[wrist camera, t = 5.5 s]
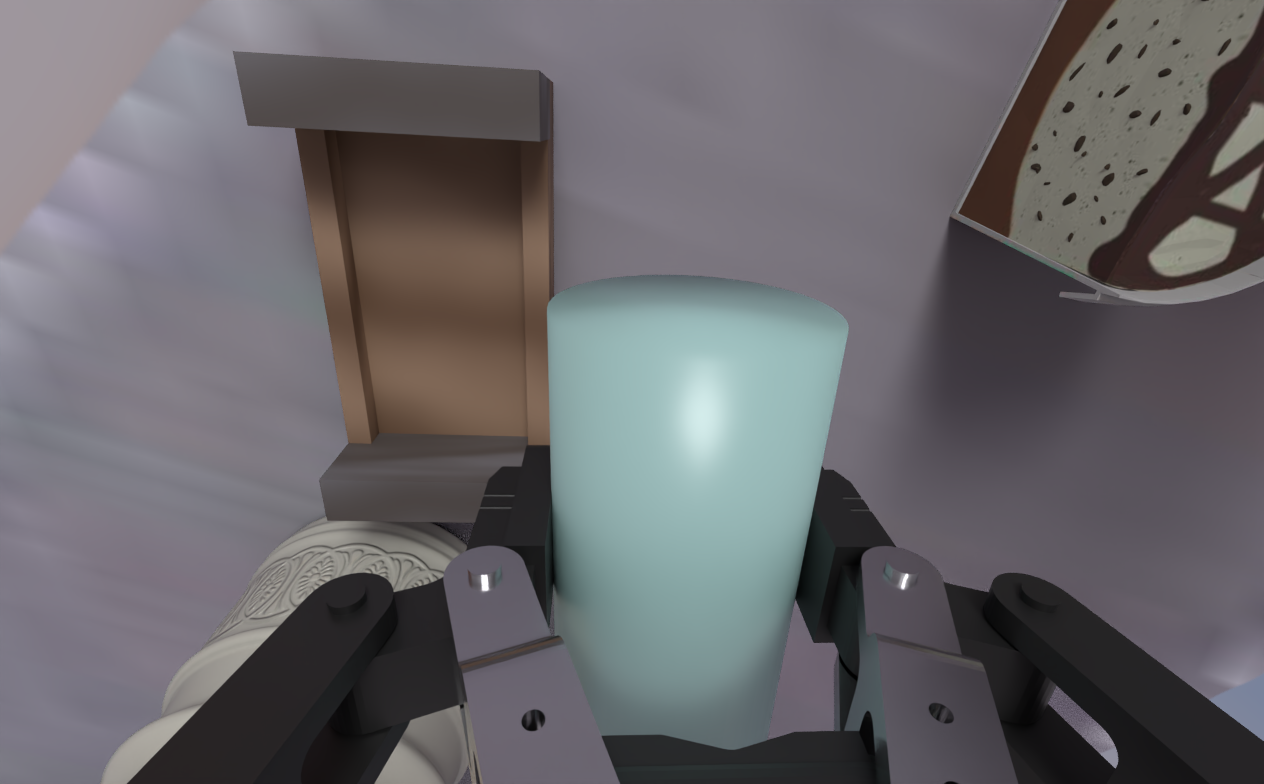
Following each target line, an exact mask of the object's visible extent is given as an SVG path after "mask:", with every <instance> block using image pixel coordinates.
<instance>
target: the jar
mask: <svg viewBox="0 0 1264 784" xmlns="http://www.w3.org/2000/svg"><path fill="white" fill-rule="evenodd" d="M466 549H467V545H466V544H465V543H464V542H462V541H461V540H460V539H458V538H457V537H456V536H454V535H453V534H451V533H450V532H448V531H446V530H445V529H443V528H441V527H439V526H437V525H435V524H433V523H430V522H384V521H327V517H323V518H321V519H318V520H316V521H314V522H312V523H310V524H308V525H306V526H305V527H303V528H302V529H300V530H299V531H297V532H296V533H295V534H294V535H292V536H291V537H290V538H289V539H287V540H286V541H284V542H283V543H282V544H281V545H279V546H278V547H277V548H276V549H275V550H274V551H273V552H272V553H271V554H270V555H269V556H268V557H267V558H266V560H265V561H264V562H263V564H262V565H261V566H260V567H259V568H258V569H257V571H256V572H255V574H254V575H253V577H252V578H251V580H250V582H249V584H248V587H247V589H246V591H245V593H244V594H243V595H242V597H241V598H240V599H239V601H238V602H237V603H236V604H235V606H234V607H233V608H232V610H231V611H230V612H229V614H228V615H227V616H226V617H225V619H224V620H223V621H222V623H221V624H220V625H219V627H218V628H217V629H216V630H215V632H214V633H213V634H212V636H211V637H210V638H209V640H208V641H207V642H206V643H205V645H204V646H203V647H202V649H201V650H200V651H199V652H197V653H196V654H195V655H194V656H192V657H191V658H190V659H189V660H188V661H187V662H186V663H184V664H183V665H182V667H181V668H180V669H179V670H178V671H177V672H176V674H175V675H174V677H173V679H172V680H171V682H170V684H169V686H168V688H167V690H166V693H165V696H164V699H163V704H162V714H161V718H159V719H157V720H155V721H153V722H151V723H150V724H148V725H146V726H145V727H143V728H141V729H140V730H138V731H137V732H135V733H134V734H133V735H131V736H130V737H129V738H128V739H127V740H126V741H125V742H124V743H123V744H122V745H121V746H120V747H119V748H118V749H117V750H116V751H115V753H114V754H113V755H112V757H111V758H110V760H109V761H108V763H107V766H106V768H105V770H104V773H103V776H102V779H101V783H100V784H127V783H128V782H129V781H130V780H131V779H132V778H133V777H134V776H135V775H136V774H137V773H138V772H139V770H140V769H141V768H142V767H143V766H144V765H145V764H146V763H147V762H148V761H149V760H150V759H151V758H152V757H153V756H154V755H155V754H156V753H157V752H158V751H159V750H160V749H161V748H162V747H163V746H164V745H165V744H166V743H167V742H168V740H169V739H170V738H171V737H172V736H173V735H174V734H175V733H176V732H177V731H178V730H179V729H180V728H181V727H182V726H183V725H184V724H185V723H186V722H187V721H188V720H189V719H190V718H191V717H192V716H193V715H194V714H195V713H196V712H197V710H198V709H199V708H200V707H201V706H202V705H203V704H204V703H205V702H206V701H207V700H208V699H209V698H210V697H211V696H212V695H213V694H214V693H215V692H216V691H217V690H218V689H219V688H220V687H221V686H222V685H223V684H224V683H225V682H226V680H227V679H228V678H229V677H230V676H231V675H232V674H233V673H234V672H235V671H236V670H237V669H238V668H239V667H240V666H241V665H242V664H243V663H244V662H245V661H246V660H247V659H248V658H249V657H250V656H251V655H252V654H253V653H254V652H255V651H256V649H257V648H258V647H259V646H260V645H261V644H262V643H263V642H264V641H265V640H266V639H267V638H268V637H269V636H270V635H271V634H272V633H273V632H274V631H275V630H276V629H277V628H278V627H279V626H280V625H281V624H282V623H283V622H284V621H285V619H286V618H287V617H288V616H289V615H290V614H291V613H292V612H293V611H294V610H295V609H296V608H297V607H298V606H299V605H300V604H301V603H302V602H303V601H304V600H305V599H306V598H307V597H308V596H309V595H310V594H311V593H312V592H313V591H314V590H315V589H317V588H318V587H320V586H321V585H323V584H325V583H326V582H328V581H330V580H333V579H335V578H338V577H341V576H344V575H348V574H353V573H373V574H377V575H380V576H382V577H384V578H386V579H387V580H388V581H389V582H390V583H391V585H392V587H393V591H394V592H396V591H400V590H405V589H409V588H413V587H417V586H421V585H425V584H428V583H431V582H434V581H436V580H438V579H440V578H442V577H443V576H444V571H445V569H446V567H447V566H448V564H449V563H450V562H451V561H452V560H453V559H454V558H455V557H457V556H458V555H460V554H461V553H463V552H465V551H466ZM468 765H469V763H468V758H467V752H466V746H465V740H464V734H463V728H462V722H461V716H460V710H459V705H457V706H454V707H451V708H448V709H445V710H441V711H438V712H435V713H432V714H429V715H425V716H422V717H419V718H416V719H413V720H411V721H410V723H409V725H408V727H407V729H406V731H405V732H404V734H403V736H402V737H401V739H400V741H399V743H398V744H397V746H396V748H395V749H394V751H393V753H392V754H391V756H390V758H389V760H388V761H387V763H386V765H385V766H384V768H383V770H382V772H381V773H380V775H379V777H378V778H377V780H376V782H375V784H458V783H459V782H460V780H461V779H462V777H463V776H464V774H465V772H466V770H467V768H468Z"/></svg>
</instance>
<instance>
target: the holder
mask: <svg viewBox="0 0 1264 784" xmlns="http://www.w3.org/2000/svg"><path fill="white" fill-rule="evenodd" d="M233 54H234V59H235V64H236V69H237V74H238V79H239V84H240V89H241V94H242V99H243V104H244V109H245V114H246V119H247V124H248V126H266V127H285V128H295V132H296V138H297V144H298V149H299V155H300V161H301V167H302V173H303V179H304V185H305V190H306V196H307V202H308V208H309V214H310V220H311V226H312V231H313V237H314V243H315V249H316V255H317V261H318V267H319V272H320V278H321V284H322V290H323V296H324V302H325V308H326V313H327V319H328V325H329V331H330V337H331V343H332V349H333V354H334V360H335V366H336V372H337V378H338V384H339V390H340V395H341V401H342V407H343V413H344V419H345V425H346V430H347V436H348V442H349V443H348V445H347V446H346V447H345V448H344V450H343V451H342V452H341V453H340V455H339V456H338V457H337V458H336V460H335V461H334V462H333V463H332V465H331V466H330V467H329V468H328V470H327V471H326V472H325V473H324V475H323V476H322V477H321V478H320V480H319V482H320V487H321V492H322V497H323V502H324V507H325V512H326V517H327V521H384V522H454V523H475V521H476V517H477V514H478V511H479V509H480V505H481V502H482V499H483V497H484V492H485V489H486V486H487V483H488V480H489V478H490V477H491V476H493V475H494V474H495V473H496V472H497V471H498V470H499V469H500V468H501V467H502V466H522V462H523V458H524V453H525V449H526V446H527V445H550V419H549V376H548V333H547V306H548V303H549V301H550V300H551V299H552V298H553V297H554V199H553V82H552V81H551V80H549V79H548V78H547V77H546V76H545V75H544V74H542V73H541V72H540V71H539V70H523V69H507V68H491V67H475V66H459V65H443V64H427V63H411V62H395V61H379V60H363V59H347V58H331V57H315V56H299V55H283V54H267V53H251V52H235V51H233Z"/></svg>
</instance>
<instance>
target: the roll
mask: <svg viewBox="0 0 1264 784" xmlns="http://www.w3.org/2000/svg"><path fill="white" fill-rule="evenodd" d="M848 328H849V326H848V323H847V321H846V319H845V318H844V317H843V316H842V315H841V314H840V313H839V312H837V311H836V310H835V309H833V308H831V307H830V306H828V305H826V304H824V303H822V302H820V301H818V300H815V299H813V298H810V297H808V296H805V295H802V294H799V293H796V292H792V291H789V290H785V289H781V288H777V287H773V286H768V285H763V284H758V283H753V282H747V281H740V280H733V279H725V278H716V277H704V276H688V275H640V276H626V277H617V278H609V279H602V280H596V281H592V282H587V283H583V284H580V285H576V286H573V287H571V288H568V289H566V290H564V291H562V292H560V293H558V294H557V295H555V296H554V297H553V298H552V299H551V300H550V301H549V303H548V306H547V333H548V376H549V419H550V462H551V492H552V528H553V575H554V585H553V590H554V633H555V636H557V635H559V636H561V638H562V639H563V641H564V643H565V645H566V647H567V650H568V652H569V655H570V657H571V660H572V662H573V665H574V668H575V670H576V673H577V675H578V678H579V680H580V683H581V685H582V688H583V691H584V693H585V696H586V698H587V701H588V703H589V706H590V708H591V711H592V714H593V716H594V719H595V721H596V724H597V726H598V729H599V731H600V734H601V736H606V735H658V734H662V735H666V736H670V737H675V738H679V739H683V740H688V741H692V742H697V743H701V744H705V745H710V746H714V747H718V748H723V749H728V750H736V749H740V748H743V747H747V746H750V745H753V744H757V743H760V742H763V741H767V738H768V733H769V728H770V723H771V718H772V713H773V708H774V703H775V698H776V693H777V687H778V682H779V677H780V672H781V667H782V662H783V657H784V652H785V647H786V642H787V637H788V632H789V627H790V622H791V617H792V612H793V607H794V602H795V597H796V592H797V587H798V582H799V577H800V572H801V567H802V562H803V557H804V552H805V547H806V542H807V537H808V532H809V527H810V522H811V517H812V512H813V507H814V502H815V497H816V492H817V487H818V482H819V477H820V472H821V467H822V462H823V457H824V451H825V446H826V441H827V436H828V431H829V426H830V421H831V416H832V411H833V406H834V401H835V396H836V391H837V386H838V381H839V376H840V371H841V366H842V361H843V356H844V351H845V346H846V341H847V336H848Z"/></svg>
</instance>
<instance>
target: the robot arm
mask: <svg viewBox="0 0 1264 784" xmlns="http://www.w3.org/2000/svg"><path fill="white" fill-rule="evenodd" d="M553 585H554V575H553V528H552V492H551V462H550V445H527V446H526V449H525V453H524V458H523V462H522V466H502V467H501V468H500V469H499V470H498V471H497V472H496V473H495V474H494V475H493V476H491V477H490V478H489V480H488V483H487V486H486V489H485V492H484V497H483V499H482V502H481V505H480V509H479V511H478V514H477V517H476V521H475V524H474V527H473V530H472V533H471V536H470V539H469V542H468V546H467V549H466V551H465V552H463V553H461V554H460V555H458V556H457V557H455V558H454V559H453V560H452V561H451V562H450V563H449V564H448V566H447V567H446V569H445V571H444V576H443V577H442V578H440V579H438V580H436V581H434V582H431V583H428V584H425V585H421V586H417V587H413V588H409V589H405V590H400V591H396V592H394V591H393V587H392V585H391V583H390V582H389V581H388V580H387V579H386V578H384V577H382V576H380V575H377V574H373V573H353V574H348V575H344V576H341V577H338V578H335V579H333V580H330V581H328V582H326V583H325V584H323V585H321V586H320V587H318V588H317V589H315V590H314V591H313V592H312V593H311V594H310V595H309V596H308V597H307V598H306V599H305V600H304V601H303V602H302V603H301V604H300V605H299V606H298V607H297V608H296V609H295V610H294V611H293V612H292V613H291V614H290V615H289V616H288V617H287V618H286V619H285V621H284V622H283V623H282V624H281V625H280V626H279V627H278V628H277V629H276V630H275V631H274V632H273V633H272V634H271V635H270V636H269V637H268V638H267V639H266V640H265V641H264V642H263V643H262V644H261V645H260V646H259V647H258V648H257V649H256V651H255V652H254V653H253V654H252V655H251V656H250V657H249V658H248V659H247V660H246V661H245V662H244V663H243V664H242V665H241V666H240V667H239V668H238V669H237V670H236V671H235V672H234V673H233V674H232V675H231V676H230V677H229V678H228V679H227V680H226V682H225V683H224V684H223V685H222V686H221V687H220V688H219V689H218V690H217V691H216V692H215V693H214V694H213V695H212V696H211V697H210V698H209V699H208V700H207V701H206V702H205V703H204V704H203V705H202V706H201V707H200V708H199V709H198V710H197V712H196V713H195V714H194V715H193V716H192V717H191V718H190V719H189V720H188V721H187V722H186V723H185V724H184V725H183V726H182V727H181V728H180V729H179V730H178V731H177V732H176V733H175V734H174V735H173V736H172V737H171V738H170V739H169V740H168V742H167V743H166V744H165V745H164V746H163V747H162V748H161V749H160V750H159V751H158V752H157V753H156V754H155V755H154V756H153V757H152V758H151V759H150V760H149V761H148V762H147V763H146V764H145V765H144V766H143V767H142V768H141V769H140V770H139V772H138V773H137V774H136V775H135V776H134V777H133V778H132V779H131V780H130V781H129V782H128V783H127V784H375V782H376V780H377V778H378V777H379V775H380V773H381V772H382V770H383V768H384V766H385V765H386V763H387V761H388V760H389V758H390V756H391V754H392V753H393V751H394V749H395V748H396V746H397V744H398V743H399V741H400V739H401V737H402V736H403V734H404V732H405V731H406V729H407V727H408V725H409V723H410V721H411V720H413V719H416V718H419V717H422V716H425V715H429V714H432V713H435V712H438V711H441V710H445V709H448V708H451V707H454V706H457V705H459V710H460V716H461V722H462V728H463V734H464V740H465V746H466V752H467V758H468V763H469V769H470V775H471V781H472V784H1264V741H1262V740H1261V739H1260V738H1258V737H1257V736H1256V735H1255V734H1253V733H1252V732H1251V731H1249V730H1248V729H1247V728H1245V727H1244V726H1243V725H1241V724H1240V723H1238V722H1237V721H1236V720H1235V719H1233V718H1232V717H1230V716H1229V715H1228V714H1227V713H1225V712H1224V711H1222V710H1221V709H1220V708H1219V707H1217V706H1216V705H1215V704H1213V703H1212V702H1211V701H1210V700H1208V699H1207V698H1206V697H1204V696H1203V695H1202V694H1200V693H1199V692H1198V691H1196V690H1195V689H1194V688H1192V687H1191V686H1190V685H1188V684H1187V683H1186V682H1184V681H1183V680H1182V679H1180V678H1179V677H1178V676H1176V675H1175V674H1174V673H1172V672H1171V671H1170V670H1168V669H1167V668H1166V667H1164V666H1163V665H1162V664H1161V663H1159V662H1158V661H1157V660H1155V659H1154V658H1153V657H1151V656H1150V655H1149V654H1147V653H1146V652H1145V651H1143V650H1142V649H1141V648H1139V647H1138V646H1137V645H1135V644H1134V643H1133V642H1131V641H1130V640H1129V639H1127V638H1126V637H1125V636H1123V635H1122V634H1121V633H1119V632H1118V631H1117V630H1115V629H1114V628H1113V627H1112V626H1110V625H1109V624H1108V623H1106V622H1105V621H1104V620H1102V619H1101V618H1100V617H1098V616H1097V615H1096V614H1094V613H1093V612H1092V611H1090V610H1089V609H1088V608H1086V607H1085V606H1084V605H1082V604H1081V603H1080V602H1078V601H1077V600H1076V599H1074V598H1073V597H1072V596H1070V595H1069V594H1068V593H1066V592H1065V591H1063V590H1062V589H1060V588H1059V587H1057V586H1055V585H1053V584H1051V583H1049V582H1047V581H1045V580H1042V579H1040V578H1037V577H1034V576H1031V575H1026V574H1020V573H1005V574H1001V575H999V576H997V577H996V578H995V579H994V580H993V583H992V585H991V588H990V590H989V593H988V592H984V591H979V590H975V589H970V588H966V587H961V586H957V585H952V584H949V583H945V582H943V579H942V576H941V574H940V573H939V571H938V570H937V569H936V568H935V567H934V566H933V565H932V564H931V563H930V562H929V561H927V560H926V559H924V558H923V557H921V556H919V555H917V554H915V553H913V552H911V551H908V550H905V549H902V548H898V547H896V546H895V544H894V543H893V542H892V540H891V539H890V537H889V536H888V534H887V533H886V532H885V530H884V529H883V527H882V526H881V525H880V523H879V522H878V520H877V519H876V517H875V516H874V515H873V513H872V512H870V511H869V508H868V506H867V505H866V503H865V502H864V500H861V496H860V495H859V493H858V492H857V491H856V489H855V488H854V486H853V485H852V483H851V482H849V481H848V480H847V479H845V478H844V477H842V476H841V475H840V474H838V473H837V472H835V471H834V470H824V468H823V467H821V472H820V477H819V482H818V487H817V492H816V497H815V502H814V507H813V512H812V517H811V522H810V527H809V532H808V537H807V542H806V547H805V552H804V557H803V562H802V567H801V572H800V577H799V582H798V587H797V592H796V597H795V599H796V601H797V604H798V606H799V608H800V611H801V613H802V616H803V618H804V621H805V623H806V625H807V628H808V630H809V633H810V635H811V637H812V640H813V642H814V643H835V645H836V647H837V649H838V653H837V657H836V661H835V664H834V731H817V732H793V733H790V734H787V735H783V736H780V737H777V738H773V739H770V740H767V741H763V742H760V743H757V744H753V745H750V746H747V747H743V748H740V749H736V750H728V749H723V748H718V747H714V746H710V745H705V744H701V743H697V742H692V741H688V740H683V739H679V738H675V737H670V736H666V735H662V734H658V735H606V736H601V734H600V731H599V729H598V726H597V724H596V721H595V719H594V716H593V714H592V711H591V708H590V706H589V703H588V701H587V698H586V696H585V693H584V691H583V688H582V685H581V683H580V680H579V678H578V675H577V673H576V670H575V668H574V665H573V662H572V660H571V657H570V655H569V652H568V650H567V647H566V645H565V643H564V641H563V639H562V638H561V636H559V635H557V636H554V637H552V636H551V633H550V631H549V624H550V614H551V605H552V595H553ZM1056 685H1057V686H1058V687H1059V688H1060V689H1061V690H1062V691H1063V692H1064V693H1066V694H1067V695H1068V696H1069V697H1070V698H1071V699H1072V700H1073V701H1074V702H1075V703H1076V704H1077V705H1079V706H1080V707H1081V708H1082V709H1083V710H1084V711H1085V712H1086V713H1087V714H1088V715H1089V716H1091V717H1092V718H1093V719H1094V720H1095V721H1096V722H1097V723H1098V724H1099V725H1100V726H1101V727H1102V728H1103V729H1104V730H1105V731H1106V732H1107V733H1108V734H1109V736H1110V737H1111V739H1112V740H1113V742H1114V744H1115V746H1116V749H1117V752H1118V759H1119V760H1118V765H1117V767H1116V769H1115V768H1114V767H1113V766H1112V765H1111V764H1110V763H1109V762H1108V761H1107V760H1106V759H1104V757H1102V756H1101V755H1100V754H1099V753H1098V752H1097V751H1096V750H1095V749H1094V748H1093V747H1092V746H1091V745H1090V744H1089V743H1088V742H1087V741H1086V740H1085V739H1084V738H1083V737H1082V736H1081V735H1080V734H1079V733H1078V732H1077V731H1075V730H1074V729H1073V728H1072V727H1071V726H1070V725H1069V724H1068V723H1067V722H1066V721H1065V720H1064V719H1063V718H1062V717H1061V716H1060V715H1059V714H1058V713H1057V712H1056V711H1055V710H1054V709H1053V708H1052V707H1051V706H1050V705H1048V702H1049V700H1050V698H1051V696H1052V694H1053V692H1054V690H1055V687H1056Z"/></svg>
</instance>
